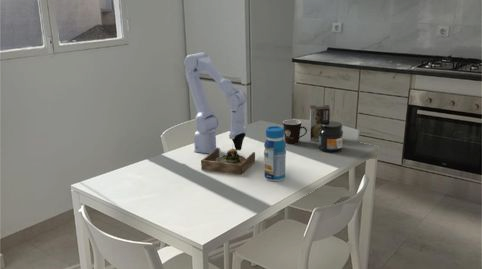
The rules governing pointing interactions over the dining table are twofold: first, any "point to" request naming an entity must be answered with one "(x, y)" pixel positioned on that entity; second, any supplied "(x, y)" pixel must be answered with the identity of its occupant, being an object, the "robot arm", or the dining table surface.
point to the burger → (232, 157)
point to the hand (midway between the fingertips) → (238, 149)
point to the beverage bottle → (274, 154)
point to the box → (225, 164)
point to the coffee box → (318, 119)
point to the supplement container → (330, 136)
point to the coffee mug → (292, 131)
